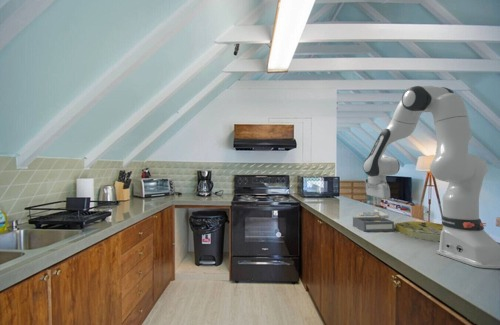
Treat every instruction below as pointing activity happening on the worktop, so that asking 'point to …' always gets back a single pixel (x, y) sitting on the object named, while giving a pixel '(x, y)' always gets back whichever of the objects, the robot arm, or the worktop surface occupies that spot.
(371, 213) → the switch
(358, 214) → the switch
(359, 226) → the box
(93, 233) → the worktop surface
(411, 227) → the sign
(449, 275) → the worktop surface
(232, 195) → the worktop surface
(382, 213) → the switch
